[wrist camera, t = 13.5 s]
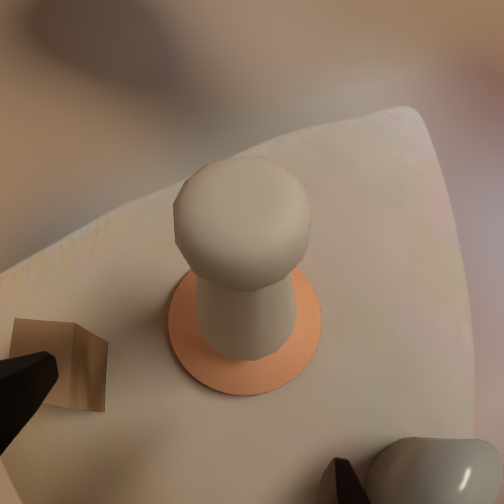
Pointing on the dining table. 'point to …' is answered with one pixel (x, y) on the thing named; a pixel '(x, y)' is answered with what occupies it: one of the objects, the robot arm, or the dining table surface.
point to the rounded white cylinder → (436, 472)
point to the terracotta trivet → (243, 371)
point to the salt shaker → (243, 252)
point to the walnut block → (66, 361)
